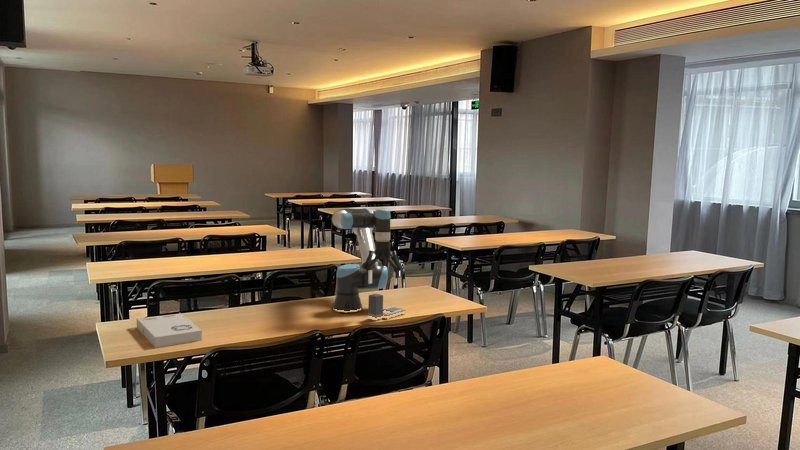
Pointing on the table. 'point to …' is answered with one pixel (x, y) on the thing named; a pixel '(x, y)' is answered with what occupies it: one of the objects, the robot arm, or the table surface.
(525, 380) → the table surface
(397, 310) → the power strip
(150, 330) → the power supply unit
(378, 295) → the charger
